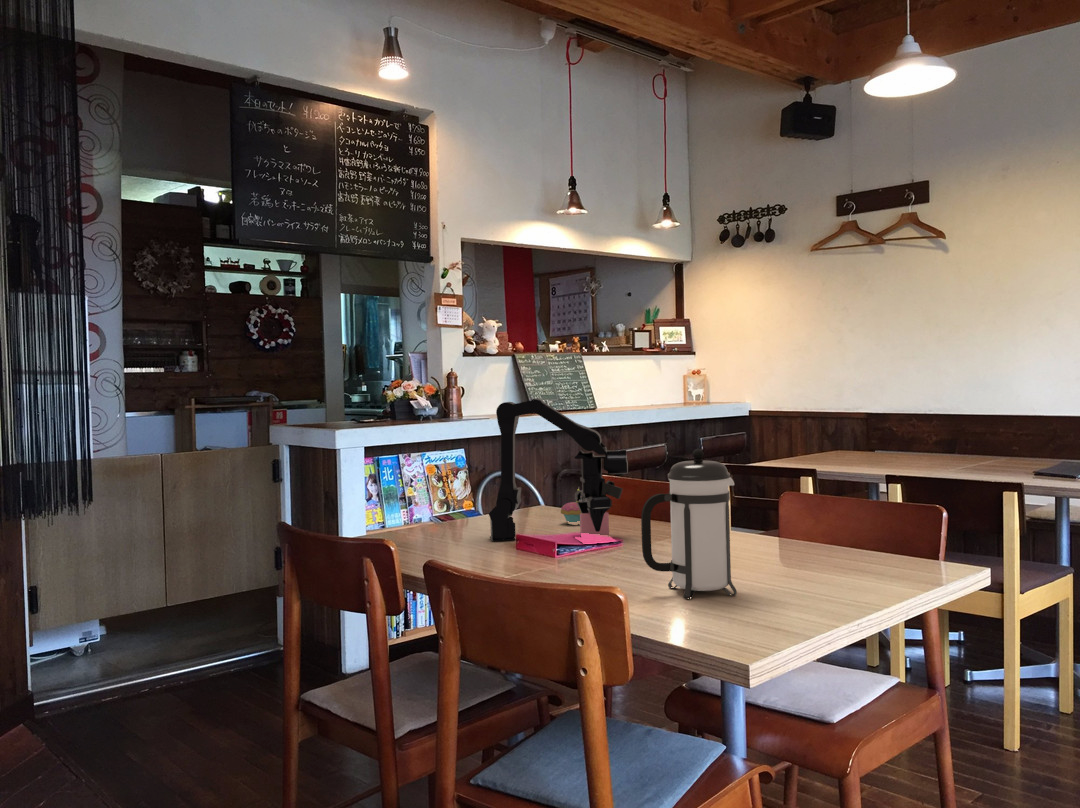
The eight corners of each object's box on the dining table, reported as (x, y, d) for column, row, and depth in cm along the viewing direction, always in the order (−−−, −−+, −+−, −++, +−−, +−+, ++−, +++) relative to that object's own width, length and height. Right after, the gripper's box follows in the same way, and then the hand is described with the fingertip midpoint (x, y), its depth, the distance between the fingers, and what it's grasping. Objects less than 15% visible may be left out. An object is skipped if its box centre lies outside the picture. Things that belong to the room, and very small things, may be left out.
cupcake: (592, 523, 269) (591, 485, 268) (579, 527, 261) (578, 488, 261) (569, 521, 273) (568, 484, 273) (556, 525, 266) (554, 487, 266)
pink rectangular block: (582, 538, 239) (581, 514, 239) (580, 538, 241) (579, 513, 241) (609, 537, 241) (608, 512, 241) (607, 536, 242) (606, 511, 242)
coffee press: (683, 579, 188) (680, 445, 187) (750, 589, 177) (747, 446, 177) (641, 596, 174) (637, 451, 174) (711, 607, 164) (707, 453, 163)
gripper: (628, 476, 233) (630, 532, 233) (609, 469, 251) (611, 522, 251) (589, 478, 231) (591, 535, 231) (573, 471, 249) (575, 524, 249)
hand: (593, 528), depth 241 cm, fingers open, 9 cm apart
